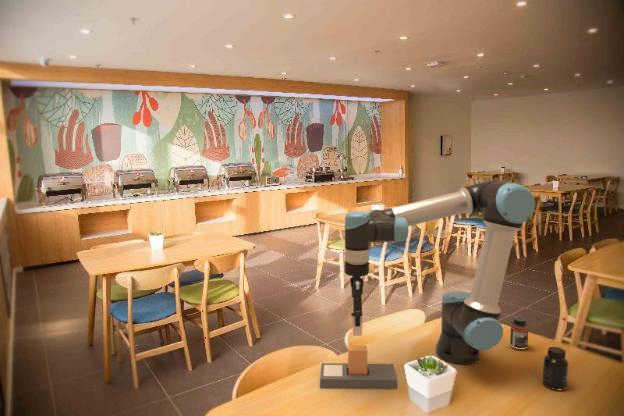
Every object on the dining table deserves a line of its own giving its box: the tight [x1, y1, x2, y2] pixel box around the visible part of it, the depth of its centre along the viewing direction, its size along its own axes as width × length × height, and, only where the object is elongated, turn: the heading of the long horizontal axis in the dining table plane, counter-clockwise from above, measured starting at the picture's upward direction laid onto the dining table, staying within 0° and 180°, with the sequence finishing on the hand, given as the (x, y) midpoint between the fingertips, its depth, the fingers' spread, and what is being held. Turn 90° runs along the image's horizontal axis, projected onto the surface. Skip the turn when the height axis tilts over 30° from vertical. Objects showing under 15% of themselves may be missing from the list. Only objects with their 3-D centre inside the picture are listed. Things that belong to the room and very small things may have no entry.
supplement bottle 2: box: [542, 346, 569, 389], centre depth 139 cm, size 7×7×12 cm
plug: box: [347, 345, 368, 375], centre depth 144 cm, size 6×4×11 cm, turn 86°
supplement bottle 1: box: [509, 316, 529, 348], centre depth 165 cm, size 6×6×11 cm
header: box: [319, 362, 398, 390], centre depth 144 cm, size 24×10×4 cm, turn 86°
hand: (356, 326), depth 141 cm, fingers open, 13 cm apart
